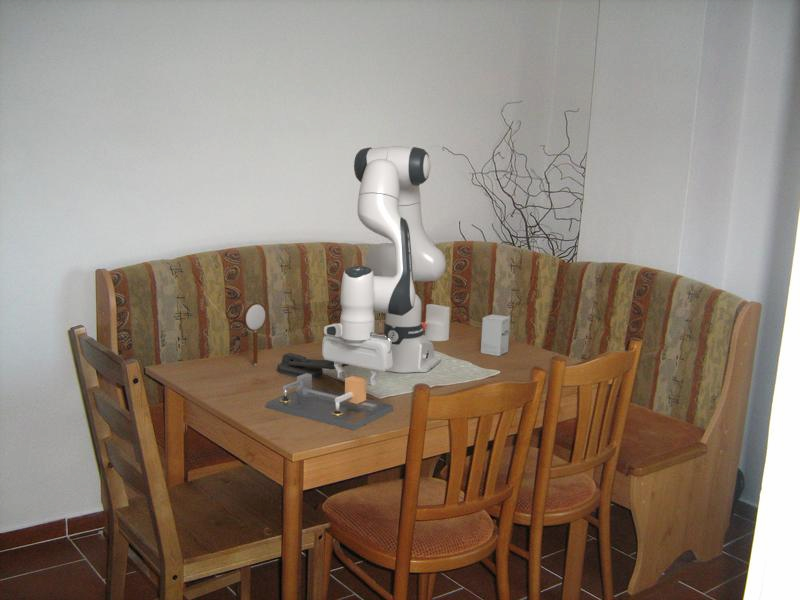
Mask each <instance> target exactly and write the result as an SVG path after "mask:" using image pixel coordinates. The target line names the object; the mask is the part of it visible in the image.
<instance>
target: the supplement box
mask: <svg viewBox="0 0 800 600" xmlns="http://www.w3.org/2000/svg"><path fill="white" fill-rule="evenodd" d="M510 323H511V317H510V316H506V315H501V314H489V315H486V316H484V317H482V325H481V343H480V353H481V354H485V355H491V356H496V357H500V356H502V355H504V354H507V353H508V352H509V344H510V342H509V341H510V340H509V339H510V328H511V327H510Z"/></svg>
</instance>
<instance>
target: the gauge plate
mask: <svg viewBox="0 0 800 600" xmlns="http://www.w3.org/2000/svg"><path fill="white" fill-rule="evenodd" d="M294 388H296V389H295V391H293V392H291V393H288V390H291V389H294ZM282 390H283V394H282V396H280V397H279V396H278V397H276V398H274V399H272V400H269V401H267V402H266V408H267V409H269V410H274V411H277V412H282V413H285V414H289V415H293V416H298V417H301V418H305V419H309V420H314V421H317V422H321V423H325V424H329V425H331V426H332V425H333V426H336V427H339V428H344V429H348V430H352V431H355V430H358V429H359V428H361V427H363V426H366V425H367V424H369V423H372V422H373V421H376V420H377V419H380V418H381V417H384V416H385V415H388V414H389V413H391V412H394V404H391V403H390V404H389V403H385V402H381V401H377V400H374V399H373V400H372V399H369V398H366V400H365V401H363V402H360V403H358V404H356V403H351V402H347V401H345V400H344V401H341V402H339V411H335V405H336V402H335V398H337V397H339V396H342V395H344V394H345V393H343V392H336V391H334V390H330V389H329V390H328V389H324V388H320V387H316V386H313V379H312V374H307V373H305V374H303V375H300V376H297V378H296V381H293V382H290V383H288V384H284V385H283V386H282Z"/></svg>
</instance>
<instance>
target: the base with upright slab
mask: <svg viewBox="0 0 800 600" xmlns="http://www.w3.org/2000/svg"><path fill="white" fill-rule="evenodd" d="M450 309H451V308H450V307H449V306H444V305H439V304H435V303H434V304H433V303H429V304H426V309H425V321H424V323H427V324H428V326H427V327H426V328H427V329H424V336H425V337H426V338H427V339H428V340H429V341H430V342H445V341H448V340H450V324H451V323H450V312H451V311H450Z"/></svg>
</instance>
